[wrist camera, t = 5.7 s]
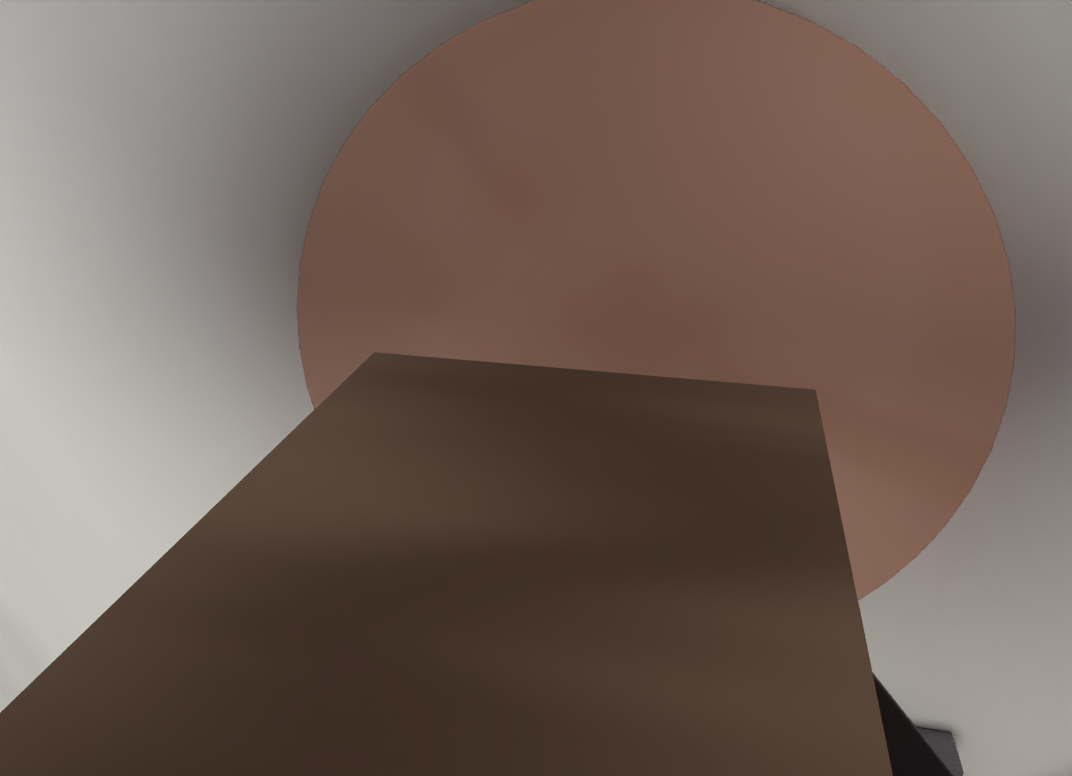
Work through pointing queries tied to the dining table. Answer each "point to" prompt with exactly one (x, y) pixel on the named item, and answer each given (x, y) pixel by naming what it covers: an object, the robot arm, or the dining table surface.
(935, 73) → the dining table surface
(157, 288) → the dining table surface
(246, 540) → the block
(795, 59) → the dish
